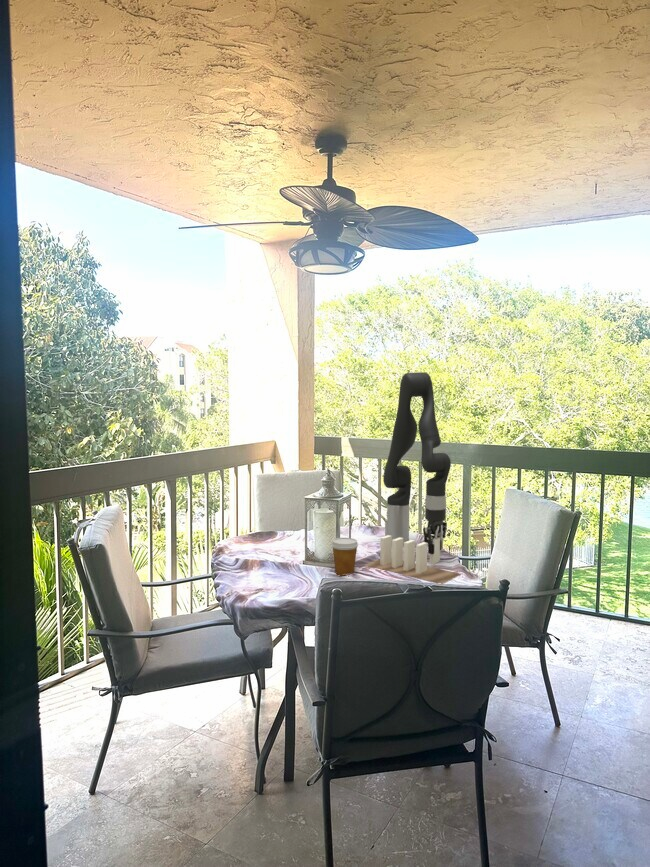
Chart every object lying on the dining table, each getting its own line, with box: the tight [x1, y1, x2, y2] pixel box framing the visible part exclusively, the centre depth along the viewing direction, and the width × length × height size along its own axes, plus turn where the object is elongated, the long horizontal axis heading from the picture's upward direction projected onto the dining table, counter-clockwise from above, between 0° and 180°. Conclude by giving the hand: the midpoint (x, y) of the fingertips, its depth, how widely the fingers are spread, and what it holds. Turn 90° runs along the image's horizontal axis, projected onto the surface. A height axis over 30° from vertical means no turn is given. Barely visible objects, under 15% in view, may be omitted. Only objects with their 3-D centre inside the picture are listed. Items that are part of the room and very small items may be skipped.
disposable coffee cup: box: [331, 537, 359, 577], centre depth 201 cm, size 10×10×12 cm
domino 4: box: [415, 541, 428, 574], centre depth 200 cm, size 2×5×10 cm, turn 140°
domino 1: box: [379, 535, 392, 565], centre depth 210 cm, size 2×5×10 cm, turn 140°
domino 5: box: [429, 537, 441, 565], centre depth 212 cm, size 2×5×10 cm, turn 140°
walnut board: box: [364, 558, 462, 585], centre depth 203 cm, size 32×14×1 cm, turn 50°
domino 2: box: [392, 537, 404, 568], centre depth 207 cm, size 2×5×10 cm, turn 140°
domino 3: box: [403, 539, 416, 571], centre depth 204 cm, size 2×5×10 cm, turn 139°
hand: (434, 551), depth 212 cm, fingers closed on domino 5, 5 cm apart
